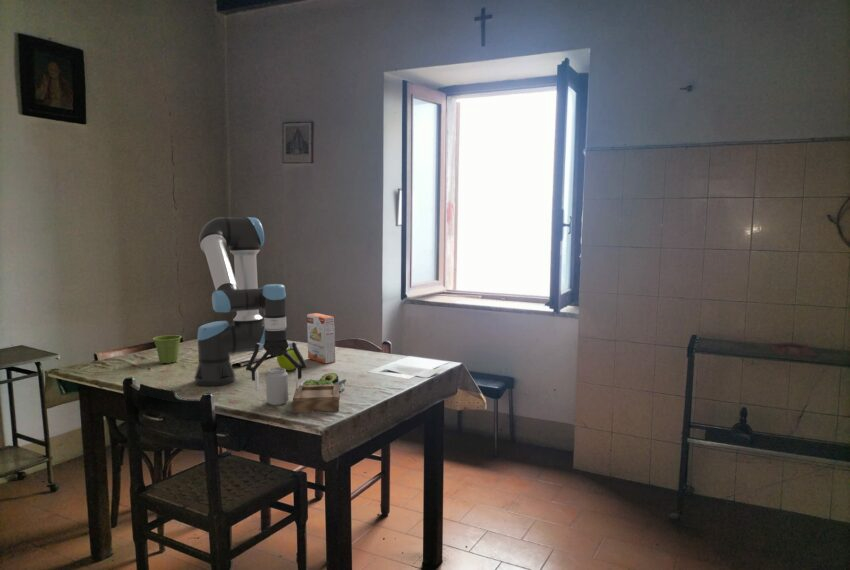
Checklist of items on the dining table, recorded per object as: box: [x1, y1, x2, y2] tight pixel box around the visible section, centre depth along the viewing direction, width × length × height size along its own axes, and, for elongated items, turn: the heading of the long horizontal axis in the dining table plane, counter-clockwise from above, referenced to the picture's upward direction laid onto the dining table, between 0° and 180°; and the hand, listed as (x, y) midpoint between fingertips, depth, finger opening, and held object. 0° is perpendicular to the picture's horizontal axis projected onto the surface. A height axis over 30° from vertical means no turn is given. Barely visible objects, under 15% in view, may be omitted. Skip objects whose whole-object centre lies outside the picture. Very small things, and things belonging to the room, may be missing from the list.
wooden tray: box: [292, 384, 341, 414], centre depth 208 cm, size 15×15×5 cm
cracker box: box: [306, 312, 336, 365], centre depth 271 cm, size 14×6×21 cm, turn 44°
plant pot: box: [152, 334, 182, 364], centre depth 268 cm, size 12×12×11 cm
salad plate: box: [299, 372, 347, 392], centre depth 227 cm, size 19×18×5 cm
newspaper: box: [230, 347, 289, 367], centre depth 276 cm, size 35×12×4 cm, turn 157°
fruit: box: [276, 347, 300, 371], centre depth 255 cm, size 9×9×10 cm
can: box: [265, 367, 289, 406], centre depth 210 cm, size 8×8×12 cm
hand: (277, 389), depth 209 cm, fingers open, 13 cm apart
